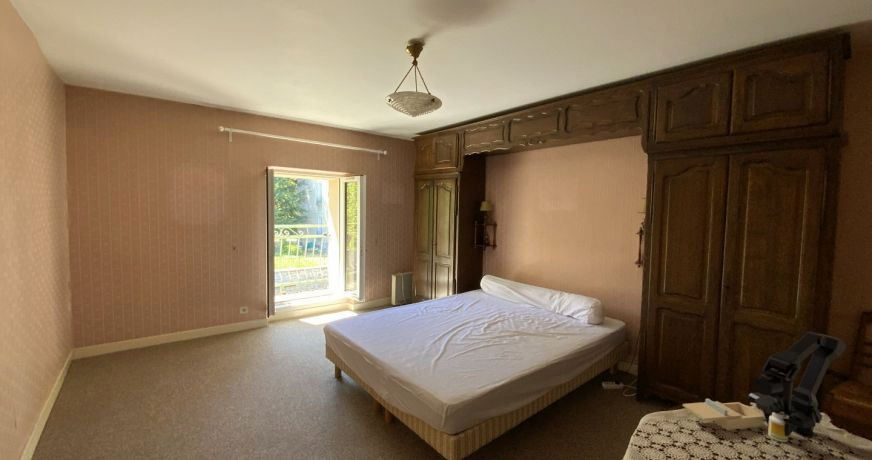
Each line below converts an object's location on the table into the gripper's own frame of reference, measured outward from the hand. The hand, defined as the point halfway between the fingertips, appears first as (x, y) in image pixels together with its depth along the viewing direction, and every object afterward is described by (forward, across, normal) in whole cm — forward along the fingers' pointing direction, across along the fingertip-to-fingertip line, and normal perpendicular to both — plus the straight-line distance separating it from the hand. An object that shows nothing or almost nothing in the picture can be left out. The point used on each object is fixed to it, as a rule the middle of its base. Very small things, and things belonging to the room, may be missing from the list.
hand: (778, 431), depth 133 cm
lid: (-2, -11, -17) cm, 20 cm away
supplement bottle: (+3, 0, 0) cm, 3 cm away
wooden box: (+2, -11, -7) cm, 13 cm away
